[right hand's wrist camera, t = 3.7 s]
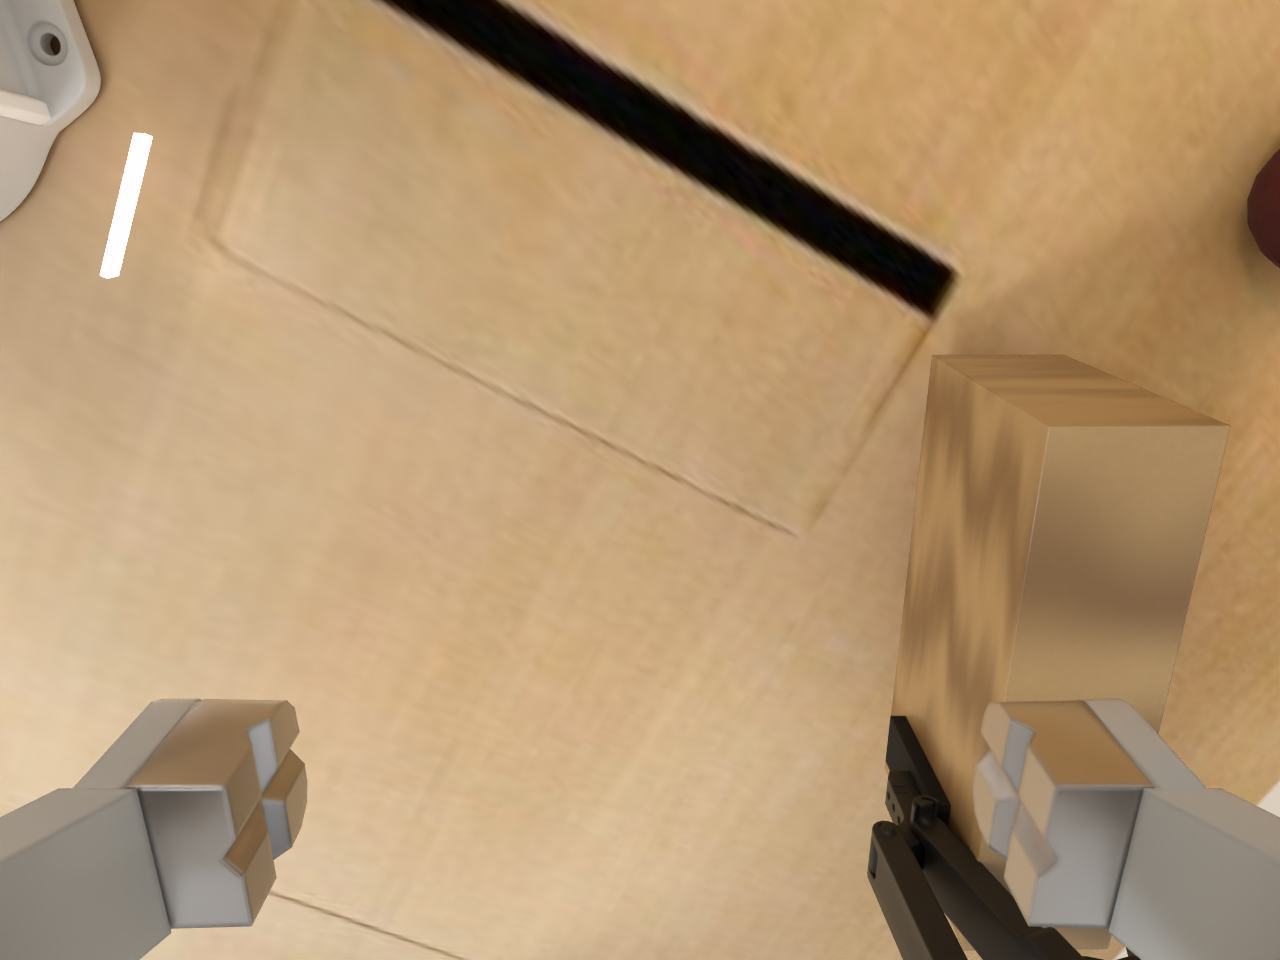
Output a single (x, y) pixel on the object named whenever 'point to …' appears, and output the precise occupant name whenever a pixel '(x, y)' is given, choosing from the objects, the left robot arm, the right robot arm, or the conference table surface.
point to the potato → (1266, 209)
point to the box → (1045, 556)
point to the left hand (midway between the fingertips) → (962, 738)
